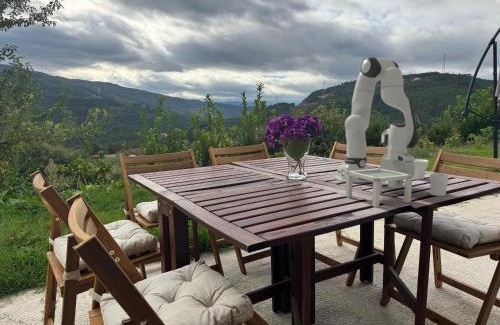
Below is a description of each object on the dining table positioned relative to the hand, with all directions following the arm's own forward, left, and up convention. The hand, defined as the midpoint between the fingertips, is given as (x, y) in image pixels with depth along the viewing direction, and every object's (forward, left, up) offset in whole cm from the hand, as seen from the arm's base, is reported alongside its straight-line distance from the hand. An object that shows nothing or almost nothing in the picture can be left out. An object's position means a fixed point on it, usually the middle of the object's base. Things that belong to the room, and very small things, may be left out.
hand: (395, 183), depth 189 cm
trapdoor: (+7, -17, +4) cm, 19 cm away
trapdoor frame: (+7, -17, -5) cm, 20 cm away
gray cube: (0, 0, -2) cm, 2 cm away
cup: (-26, +41, -5) cm, 48 cm away
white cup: (+11, +17, -5) cm, 21 cm away
